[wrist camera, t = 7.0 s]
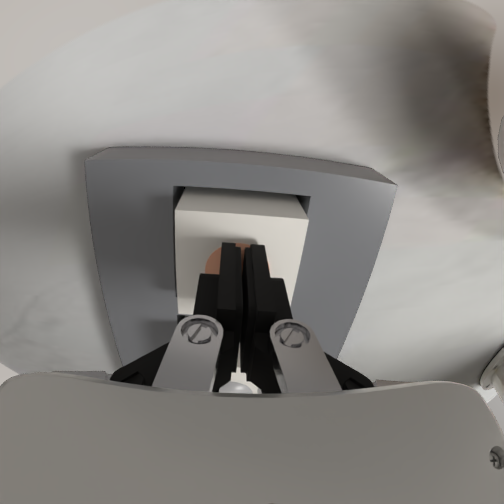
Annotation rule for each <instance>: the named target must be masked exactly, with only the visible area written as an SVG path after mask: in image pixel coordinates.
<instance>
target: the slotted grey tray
mask: <svg viewBox="0 0 504 504" xmlns="http://www.w3.org/2000/svg"><path fill="white" fill-rule="evenodd" d="M85 176H86V188H87V199H88V208H89V216H90V224H91V231H92V238H93V244H94V250H95V256H96V262H97V267H98V272H99V277H100V282H101V287H102V292H103V296H104V300H105V305H106V309H107V313H108V317H109V321H110V324H111V328H112V332H113V335H114V339H115V342H116V346H117V349H118V352H119V356H120V359H121V362H122V365H123V366H125V365H127V364H129V363H131V362H133V361H135V360H136V359H138V358H140V357H142V356H144V355H146V354H148V353H150V352H151V351H153V350H155V349H157V348H159V347H161V346H162V345H164V344H166V343H168V342H170V341H171V338H172V336H173V333H174V331H175V329H176V326H177V325H178V323H179V322H180V321H181V320H183V319H184V318H185V315H186V316H192V315H188V314H178V300H177V281H176V254H175V209H176V207H177V205H178V203H179V200H180V198H181V196H182V194H183V192H184V186H191V187H209V188H225V189H239V190H252V191H264V192H275V193H285V194H295V195H296V197H297V199H298V201H299V203H300V204H301V206H302V208H303V210H304V212H305V213H306V215H307V217H308V219H309V222H308V227H307V232H306V237H305V242H304V247H303V252H302V256H301V261H300V266H299V270H298V275H297V279H296V284H295V288H294V293H293V297H292V301H291V306H290V308H291V313H292V317H293V319H294V320H298V321H301V322H303V323H305V324H307V325H308V326H309V327H311V329H312V330H313V331H314V333H315V335H316V337H317V339H318V341H319V343H320V345H321V347H322V349H323V351H324V352H325V353H327V354H329V355H330V356H332V357H334V358H335V359H337V358H338V355H339V353H340V351H341V349H342V346H343V344H344V342H345V340H346V337H347V335H348V332H349V330H350V328H351V325H352V323H353V320H354V318H355V315H356V313H357V310H358V308H359V305H360V303H361V300H362V297H363V295H364V292H365V289H366V287H367V284H368V281H369V278H370V276H371V273H372V270H373V267H374V264H375V261H376V258H377V255H378V252H379V249H380V246H381V243H382V239H383V236H384V233H385V230H386V226H387V223H388V220H389V216H390V213H391V209H392V205H393V202H394V198H395V194H396V190H397V186H398V185H397V184H395V183H394V182H392V181H391V180H389V179H388V178H386V177H385V176H383V175H381V174H380V173H378V172H377V171H375V170H374V169H372V168H367V167H362V166H356V165H351V164H345V163H339V162H333V161H326V160H319V159H312V158H305V157H298V156H290V155H281V154H272V153H262V152H252V151H240V150H226V149H210V148H189V147H109V148H107V149H105V150H103V151H101V152H100V153H98V154H96V155H94V156H92V157H90V158H88V159H86V160H85Z"/></svg>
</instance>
